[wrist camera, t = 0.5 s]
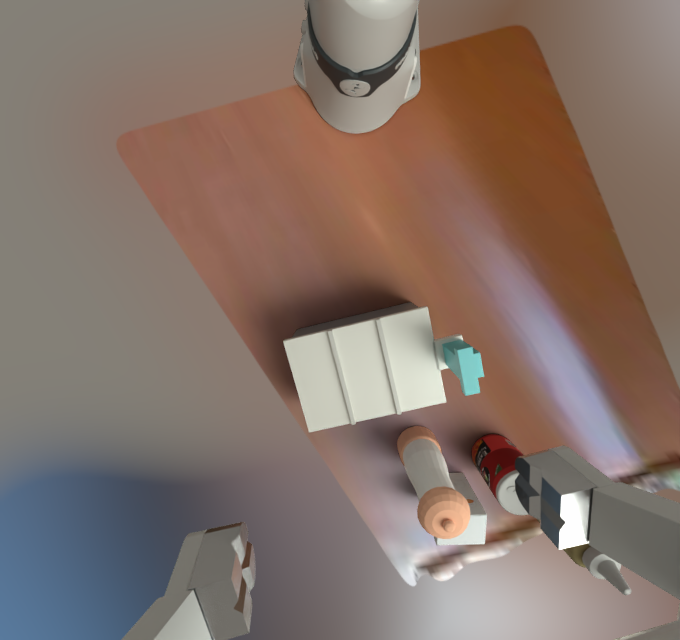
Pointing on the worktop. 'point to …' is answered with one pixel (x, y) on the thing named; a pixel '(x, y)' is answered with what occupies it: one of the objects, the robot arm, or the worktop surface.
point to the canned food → (499, 469)
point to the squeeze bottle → (598, 565)
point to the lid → (377, 368)
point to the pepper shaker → (432, 484)
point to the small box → (477, 515)
